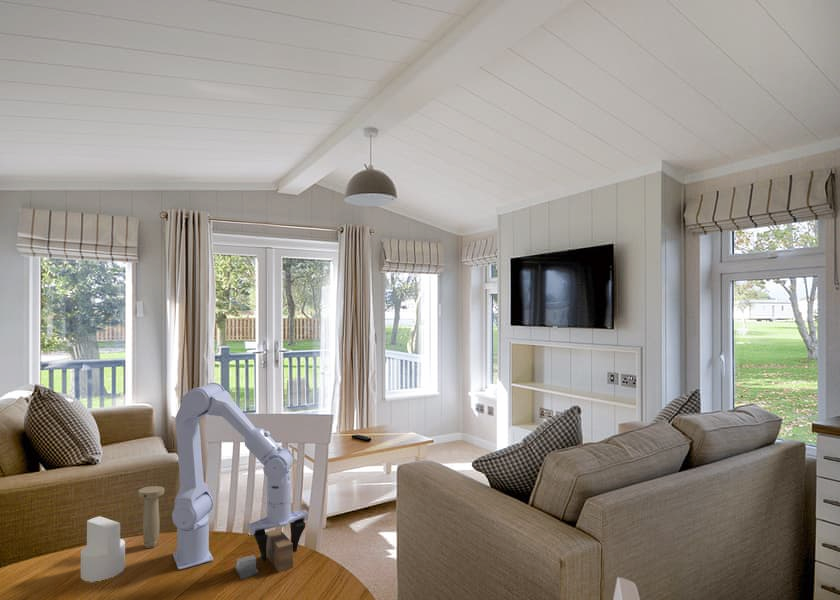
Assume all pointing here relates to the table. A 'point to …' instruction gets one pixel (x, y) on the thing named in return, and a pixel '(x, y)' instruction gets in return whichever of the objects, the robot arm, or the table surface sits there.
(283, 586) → the table surface
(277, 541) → the rectangular block
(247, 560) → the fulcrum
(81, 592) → the table surface
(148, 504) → the handle
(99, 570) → the cylinder with rectangular tab
